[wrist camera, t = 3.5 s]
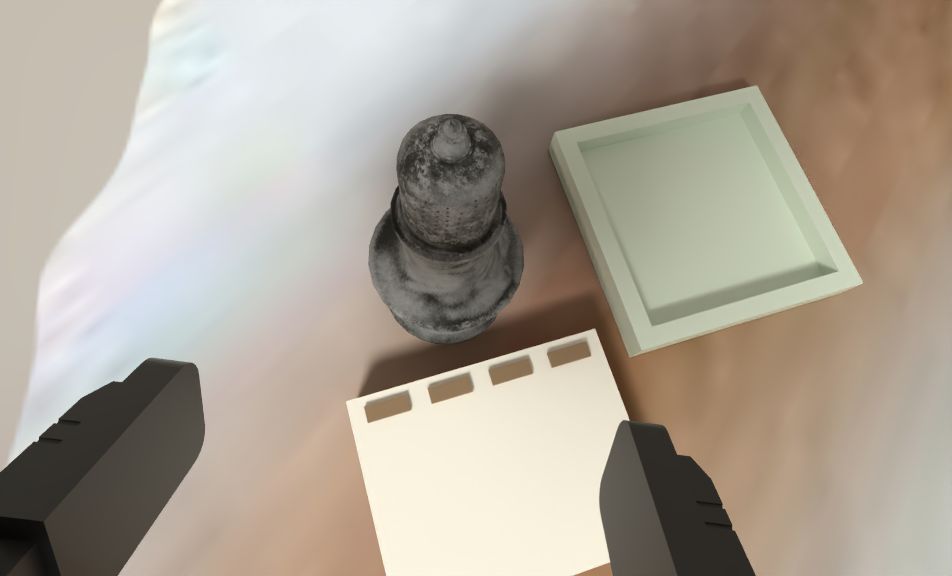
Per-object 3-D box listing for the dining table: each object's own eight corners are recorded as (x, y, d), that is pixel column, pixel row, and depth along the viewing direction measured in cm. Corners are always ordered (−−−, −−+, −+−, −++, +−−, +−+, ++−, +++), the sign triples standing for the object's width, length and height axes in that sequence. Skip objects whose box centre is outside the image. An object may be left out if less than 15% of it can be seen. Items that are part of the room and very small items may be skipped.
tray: (740, 104, 28) (756, 85, 27) (839, 293, 25) (863, 283, 24) (548, 149, 26) (554, 131, 25) (629, 357, 23) (641, 350, 22)
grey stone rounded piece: (522, 342, 23) (602, 224, 12) (384, 359, 23) (331, 252, 11) (500, 217, 25) (553, 12, 14) (372, 231, 25) (316, 27, 13)
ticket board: (582, 339, 24) (596, 327, 22) (653, 532, 21) (676, 539, 19) (353, 407, 22) (345, 400, 20) (404, 621, 20) (400, 640, 18)
